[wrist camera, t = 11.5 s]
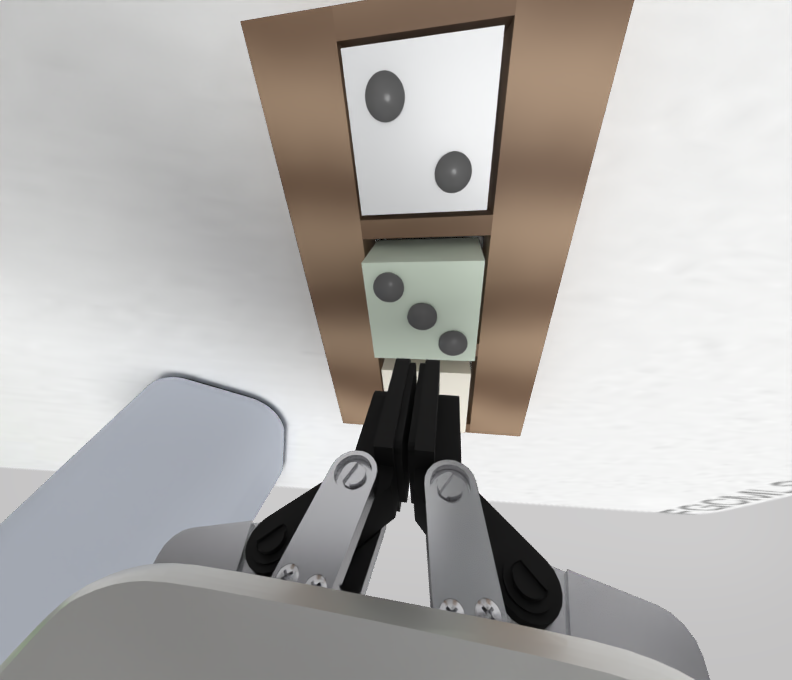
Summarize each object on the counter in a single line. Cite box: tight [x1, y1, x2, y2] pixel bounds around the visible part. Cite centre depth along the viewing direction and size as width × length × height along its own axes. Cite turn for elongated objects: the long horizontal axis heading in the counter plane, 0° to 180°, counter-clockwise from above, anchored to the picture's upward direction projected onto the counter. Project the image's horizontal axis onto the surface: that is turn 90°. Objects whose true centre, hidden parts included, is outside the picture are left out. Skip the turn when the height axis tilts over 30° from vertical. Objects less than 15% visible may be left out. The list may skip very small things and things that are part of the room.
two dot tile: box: [341, 25, 505, 215], centre depth 14 cm, size 6×6×4 cm
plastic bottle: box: [0, 377, 284, 665], centre depth 23 cm, size 15×15×28 cm
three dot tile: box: [361, 237, 485, 361], centre depth 17 cm, size 6×6×4 cm
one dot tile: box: [382, 358, 471, 433], centre depth 23 cm, size 6×6×4 cm
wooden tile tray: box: [240, 0, 634, 436], centre depth 19 cm, size 25×15×3 cm, turn 4°
